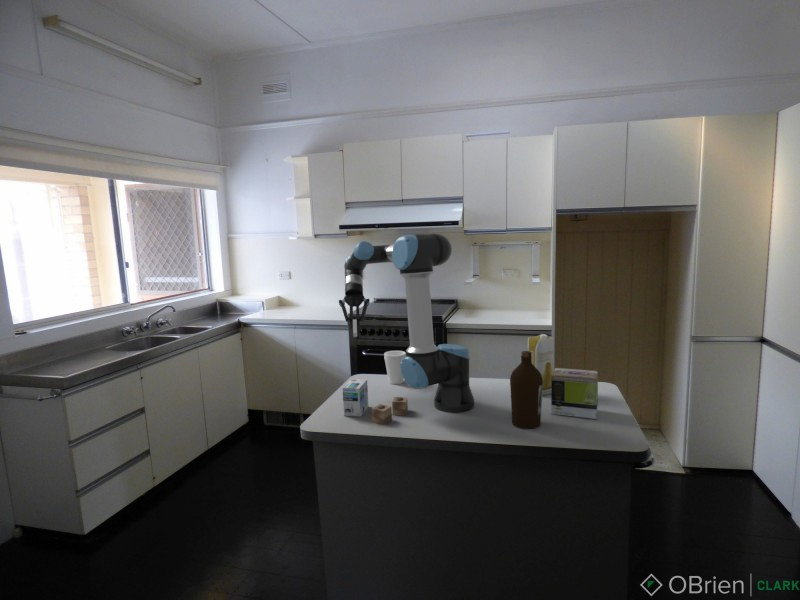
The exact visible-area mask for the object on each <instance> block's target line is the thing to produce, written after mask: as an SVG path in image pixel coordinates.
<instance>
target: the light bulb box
mask: <svg viewBox="0 0 800 600" xmlns="http://www.w3.org/2000/svg"><path fill="white" fill-rule="evenodd" d="M341 389H342V403H343V416H347V417H360V418H361V417H362V416H363V415H364V413H365V412H366V411H367V409H368V408H369V391H368V379H357V378H356V379H354V378H351V379H350V380H349V381H348V382H347V383H346V384H345V385H344V386H343V387H342V388H341Z"/></svg>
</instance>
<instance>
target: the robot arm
mask: <svg viewBox="0 0 800 600" xmlns="http://www.w3.org/2000/svg"><path fill="white" fill-rule="evenodd" d="M452 249H453V248H452V243H451V242H450V240H449V239H448V238H447V237H446V236H444V235H442V234H439V233H424V234H423V233H422V234H421V233H420V234H419V233H418V234H417V233H416V234H415V233H414V234H406V235H405V234H404V235H402V236H400V237H398V238H397V239H396V241H395V242H394V244H392V243H391V244H382V245H373V244H372V243H371V242H368V241H366V240H361V241H359V242H358V243H357V245H356V246H355V247H354V248H353V251H352V254H351V255H349V256H348V257H346V258H345V260H344V287H345V288H344V297H343V298H342V299H338V304H339V307H340V308H341V310H342V314H343V316H344V319H345V322H347V323H348V322H349V328H350V329H351V330H352V337H353V338H357V337H358V329H360V327H361V322H364V321H365V318H366V314H367V309H368V307H369V305H370V303H371V302H370V301H371V300H370V298H366V297H365V296H364V288H363V287H364V283H363V280H364V279H363V272H364V270H365V269H366V267H367V265H370V264H373V265H374V264H382V263H383V264H384V263H385V264H386V263H393V266H394V267H395V268H396V269H397V270H399V273H400V274H399V275H400V276H401V277H403V279H404V283H405V285H404V286H405V296H406V311H407V324H408V336H409V337H408V338H409V346H408V347H407V349H406V350H405V353H406V357H405V358H403V359H402V362H401V372H402V375H403V378H404V379H403V380H404V381H405V382H406V384H407V385H408V386H409V387H410V388H413V389H416V390H417V389H423V388H427V387H430V386H433V385H434V386H435V385H437V384H438V385H437V389H436V392H435V394H434V395H435V396H434V399H433V404H434V405H433V406H434V407H435V408H436V409H437V410H439V411H443V412H448V413H461V412H466V411H470V410H472V409H473V408H474V407H475V398H474V395H473V391H472V389H471V386H470V353H469V349H468V348H467V347H466V346H463V345H459V344H455V343H454V344H453V343H442V344H441V343H440V344H438V345H436V344H435V341H434V328H433V327H434V326H433V314H432V313H433V312H432V301H431V285H430V277H431V275H432V274H433V273H434V267H438V266H441V265H444V264H445V263H446V262H447V261H448V260H449V259H450V257H451V256H452V252H453V251H452ZM345 304H347V306H349V315H348V312H347V308H346V305H345ZM362 304H363V306H362V309H361V310H362V311H361V314H360V306H361V305H362ZM354 307H355V310H356V311H355V312H356V313H355V317H356V318H355V319H354Z"/></svg>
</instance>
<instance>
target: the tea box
mask: <svg viewBox="0 0 800 600" xmlns="http://www.w3.org/2000/svg"><path fill="white" fill-rule="evenodd" d="M550 395H551V397H550V398H551V399H550V400H551V401H550V404H551V405H550V406H551V410H550V411H551V415H559V416H565V417H566V416H567V417H568V416H569V417H576V418H585V419H593V420H597V415H598V414H597V413H598V408H599V405H598V402H599V399H598V398H599V371H598V370H594V369H593V370H590V369H589V370H588V369H580V368H579V369H578V368H577V369H575V368H563V367H562V368H561V367H554V368H553V373H552V375H551V393H550Z"/></svg>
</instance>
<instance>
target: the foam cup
mask: <svg viewBox="0 0 800 600" xmlns="http://www.w3.org/2000/svg"><path fill="white" fill-rule="evenodd" d="M383 356H384V357H383V358H384V363H385V368H386V375H387V380H388V383H389V384H390V383H391V385H400V384H401V385H402V384H404V380H405V379H404V378H403V375H402V372H401V362H402V359H403V358H405V357H407V355H406V351H403V350H389V351H385V352H384V353H383Z"/></svg>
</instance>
